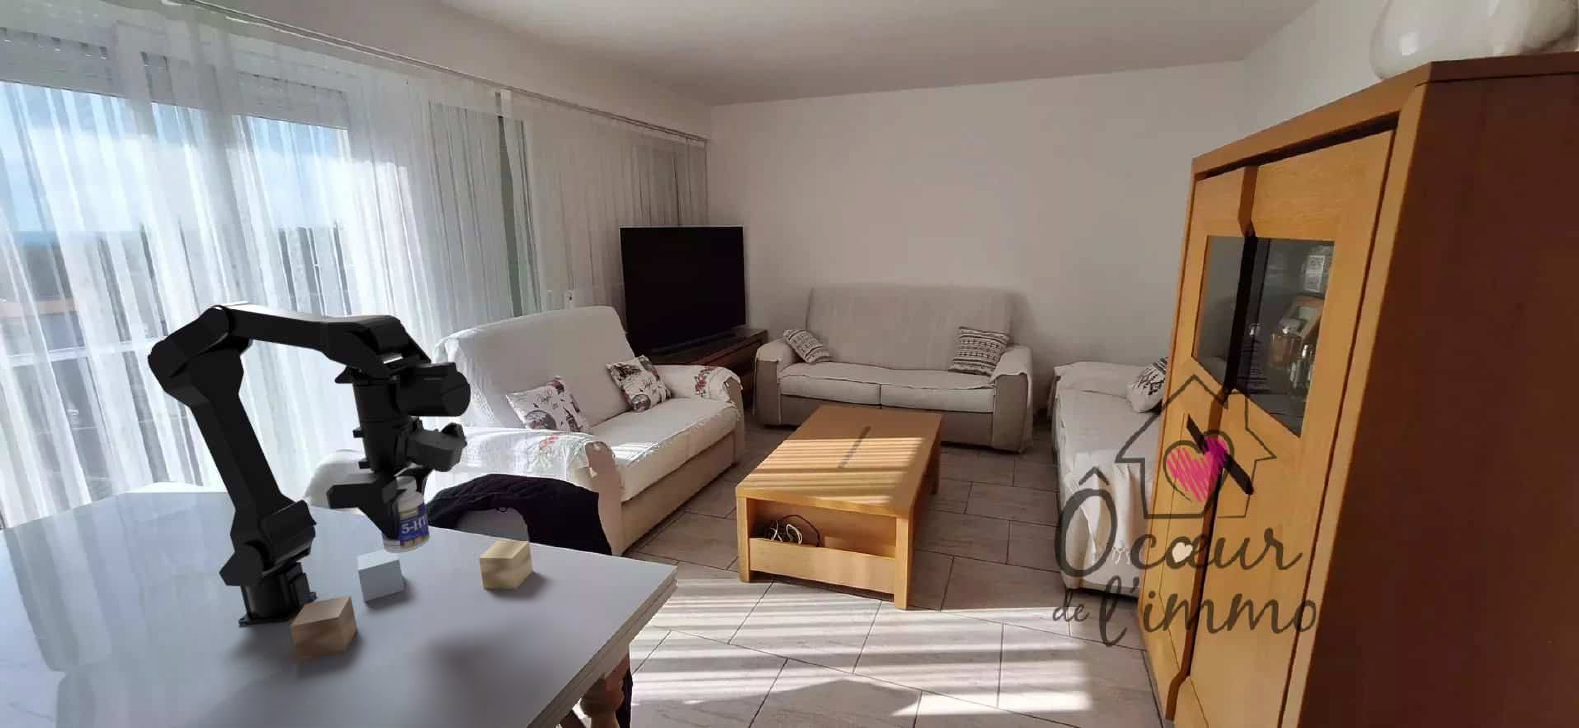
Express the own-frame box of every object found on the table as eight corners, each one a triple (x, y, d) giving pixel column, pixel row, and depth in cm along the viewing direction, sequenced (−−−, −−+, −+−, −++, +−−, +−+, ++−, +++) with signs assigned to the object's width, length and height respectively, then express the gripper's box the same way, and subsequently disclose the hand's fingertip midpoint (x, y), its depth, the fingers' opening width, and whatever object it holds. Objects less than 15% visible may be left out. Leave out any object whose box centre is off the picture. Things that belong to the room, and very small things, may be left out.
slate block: (364, 602, 91) (357, 570, 90) (363, 586, 95) (357, 556, 94) (404, 590, 93) (399, 559, 92) (402, 575, 97) (396, 545, 96)
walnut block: (298, 662, 78) (290, 626, 77) (312, 638, 83) (305, 604, 82) (345, 652, 80) (338, 616, 79) (357, 629, 84) (350, 595, 83)
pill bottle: (409, 555, 81) (398, 491, 80) (374, 552, 83) (363, 489, 81) (439, 536, 87) (429, 475, 85) (406, 533, 88) (396, 473, 86)
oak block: (483, 588, 93) (479, 557, 92) (501, 570, 98) (497, 540, 97) (516, 589, 93) (511, 558, 92) (532, 571, 97) (528, 541, 96)
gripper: (415, 436, 72) (435, 561, 76) (479, 393, 90) (494, 495, 94) (312, 441, 71) (337, 567, 75) (398, 397, 90) (415, 500, 93)
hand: (405, 528), depth 84 cm, fingers closed on pill bottle, 5 cm apart
